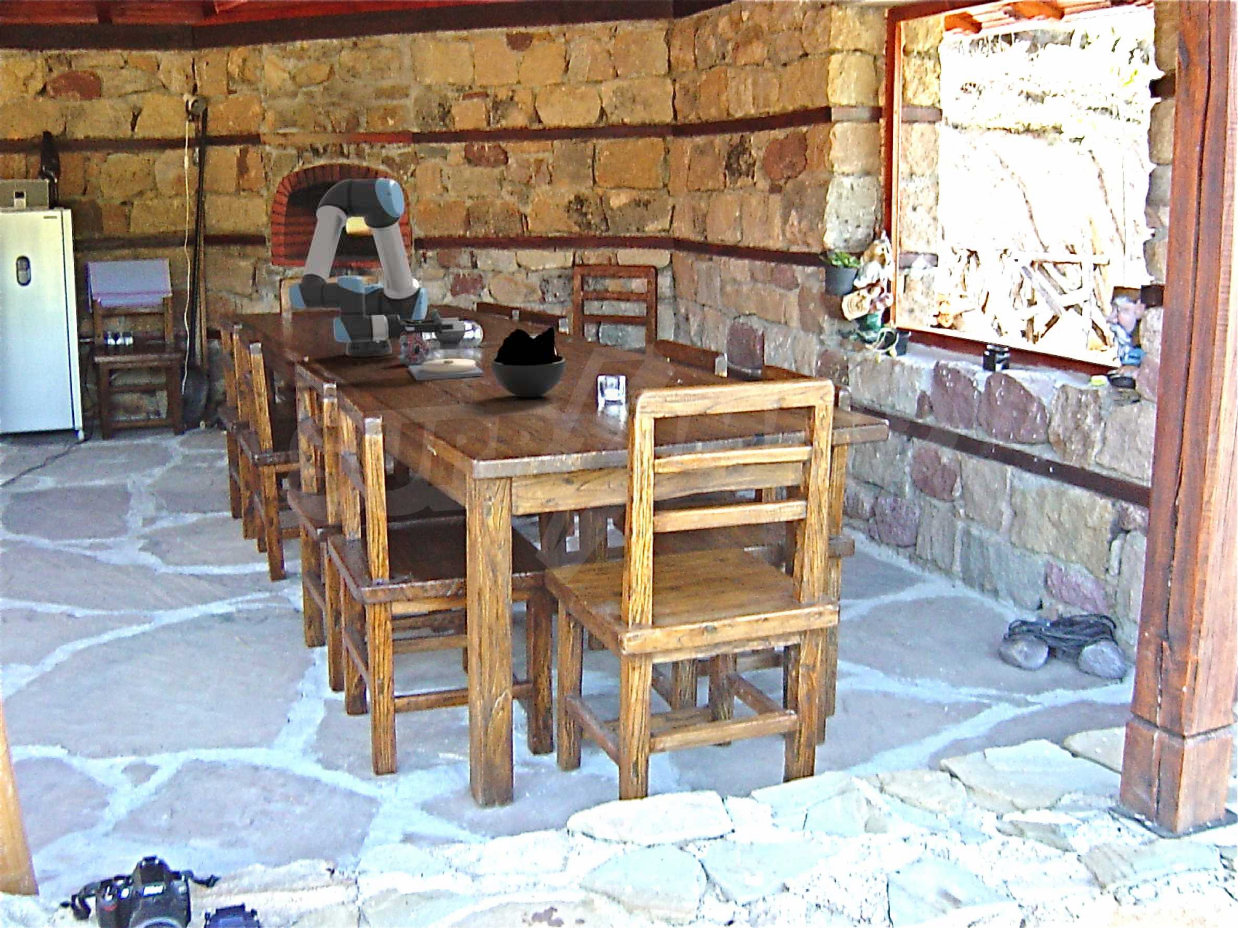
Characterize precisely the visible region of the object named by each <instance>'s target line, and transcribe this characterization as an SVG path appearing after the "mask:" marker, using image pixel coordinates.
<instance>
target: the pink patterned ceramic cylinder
mask: <svg viewBox="0 0 1238 928" xmlns="http://www.w3.org/2000/svg"><path fill="white" fill-rule="evenodd" d="M398 342H399V343H400V344H401V347H400V352H401V354H399V355H396V358H397V359H399V360H400V361H401V362H402V363H403V364H404V365H405V366H406V367H409V366H415V365H422V363H424V362H427V361H432V360H433V359H434V357H433V354H432V351H431V347H430V346H426V344H425V341H424V340H423V337H422V336H421V335H420V333H412V335H411V338H410V341H408V340H407V337H406V335H401V338H400V339H399V340H398Z"/></svg>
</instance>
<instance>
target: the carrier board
mask: <svg viewBox="0 0 1238 928" xmlns="http://www.w3.org/2000/svg"><path fill="white" fill-rule="evenodd" d="M408 371H409V372H410V374H411V375H412V376H413V378H414V379H415V380H416V381H429V380H445V379H448V380H449V379H460V378H461V377H465V378H474V377H473V376H481V377H485V372H484V371H483V370H482V369H480V367H479V366H477V365H476V360H474V359H467V358H466V359H464V358H447V359H446V358H444V359H434V360H433V359H432V361H427V362H424V363H422V365H415V366H408Z"/></svg>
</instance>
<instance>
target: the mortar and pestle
mask: <svg viewBox="0 0 1238 928" xmlns="http://www.w3.org/2000/svg"><path fill="white" fill-rule="evenodd" d="M428 315H429V317H430V318H432V319H433V321H434V323H441V322H444V321H443V320H442V319H443V318H442V317H441V316H440V314H439V313H438V309H437V308H434V309H432V310H429V312H428ZM433 333H434V336H435V338H436V340H437V341H438V342H439V343H440V344H439V349H441V350H442V349H443V350H455V349H460V348H461V341H462V340H463V339H464V337H465V334H466V324H465V323H464V331H445V332H442V334H440V333H438V332H433Z"/></svg>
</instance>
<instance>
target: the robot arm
mask: <svg viewBox="0 0 1238 928" xmlns="http://www.w3.org/2000/svg"><path fill="white" fill-rule="evenodd" d="M404 212H405V197H404V192H403V190H402V188H401V186H400V184H399V183H398V182H397V181H396V180H395V179H392V178H384V177H380V178H363V179H361V178H358V179H357V178H355V179H354V178H348V179H344V180H341V181H339V182H338V183H336V184H334V185H333V186H331V187H330V189H328V190H327V192H326V193H325V194H324V195H323V197H322V198H321V200H320V201H319V204H318V205H317V210H316V214H315V215H316V218H317V221H316V226H315V229H314V233H313V237H312V241H311V243H310V244H311V245H310V248H309V252H308V254H307V258H306V263H305V266H304V268H303V269H304V270H303V274H302V277H301V280H300V282H299V281H298V282H293V283H292V284H291V285H290V287H289V289H288V298H289V302H290V304H291V306H292V307H293V308H295V309H304V310H305V309H306V310H308V309H338V312H339V313H338V314H339V316H337V317H336V316H335V317H334V318H333V335H334V336H333V337H334V340H335V341H336V342H337V343H347V344H346V347H345V353H346V356H348V357H353V358H354V357H355V358H370V357H372V358H373V357H383V356H388V355H391V354H392V353H393V352H392V351H393V349H392V345H391V342H390V341H399V339H400V338H401V336H402V334H401V333H402V332H404V333H405V332H406V334H407V335H411V334H412V335H413V333H419V334H420V333H421V334H422V333H423V334H425V333H430V334H431V333H434V332H438V333H440V334H442V332H445V331H464V324H465V323H464V322H465V321H464V320H461V321H459V317H448V318H447V317H446V318H441V319H442V320H443V321H444V322H441V323H434V321H433V319H432V317H430V318H426V315H427V312H428V301H429V298H428V297H429V296H428V295H429V294H428V290H427V289H426V288H425V287H423V286H422V287H420V285H419V282H418V280H417V279H416V278H414V277H413V275H412V272H411V267H410V265H409V259H408V256H407V253H406V252H407V251H406V248H405V244H404V241H403V235H402V232H401V229H400V225H399V221H400V220H401V218H402V216H403V215H404ZM350 218H363V220H364V224H365V226H366V227H367V228H370V229H371V232H372V235H373V239H374V242H375V246H376V250H377V253H378V257H379V261H380V265H381V268H382V272H383V275H384V279H385V283H386V284H385V285H384V286H383V283H372V284H366V285H364V279H363V277H362V276H360V275H340V276H338V277H337V280H336V281H335V282H333V281H332V282H329V281H328V280H329V277H330V274H331V269H332V266H333V262H334V259H335V255H336V251H337V248H338V243H339V240H340V237H341V233H342V229H343V228H344V227H345V226H346V225H347V224H348V220H349V219H350Z"/></svg>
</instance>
